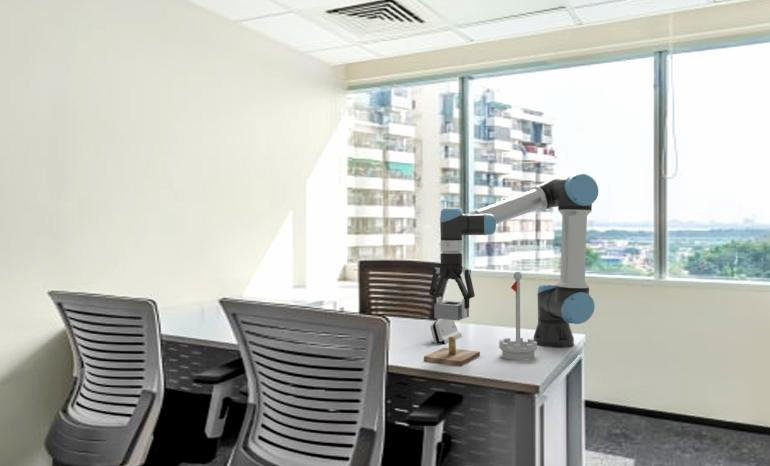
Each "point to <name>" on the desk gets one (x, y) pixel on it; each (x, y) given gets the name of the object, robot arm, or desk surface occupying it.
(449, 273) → the robot arm
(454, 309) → the grey hollow square block
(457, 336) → the hinge
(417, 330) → the desk surface
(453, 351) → the wooden peg stand
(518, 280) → the flag stand
